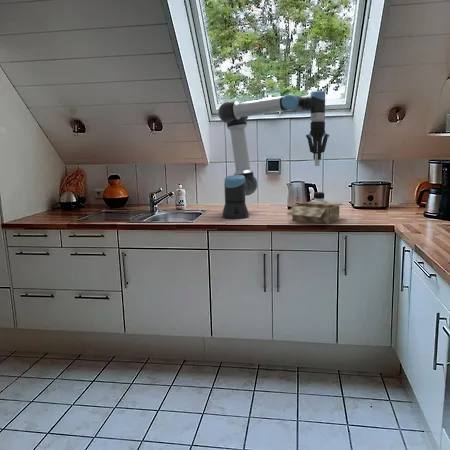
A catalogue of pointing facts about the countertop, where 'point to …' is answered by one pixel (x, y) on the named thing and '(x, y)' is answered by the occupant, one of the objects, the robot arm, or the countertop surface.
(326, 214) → the carton
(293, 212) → the flap
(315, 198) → the medicine bottle
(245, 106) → the robot arm
